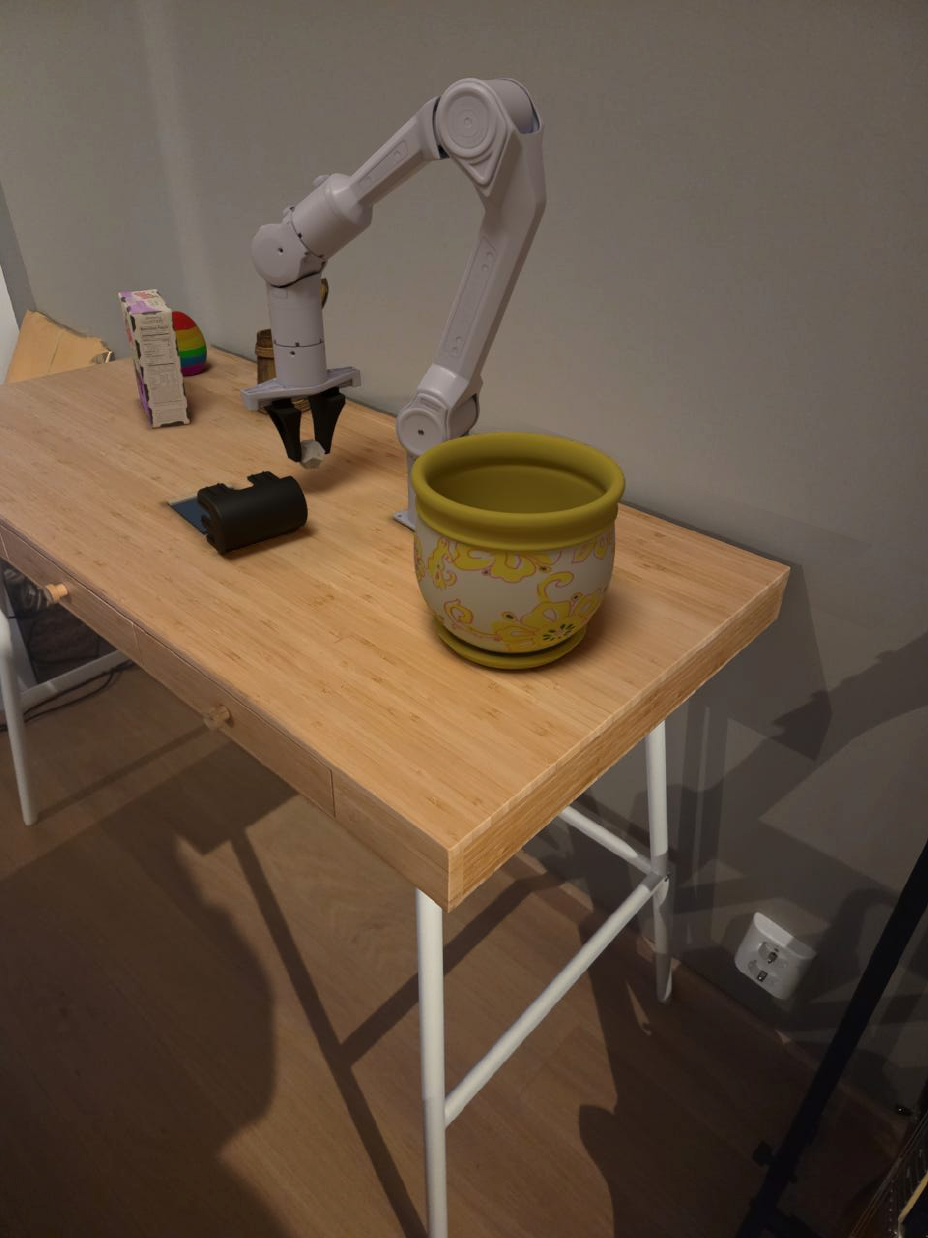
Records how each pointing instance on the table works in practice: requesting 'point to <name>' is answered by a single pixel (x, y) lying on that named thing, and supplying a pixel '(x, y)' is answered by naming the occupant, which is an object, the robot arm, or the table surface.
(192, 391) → the table surface
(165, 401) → the candy box
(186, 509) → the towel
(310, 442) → the game die
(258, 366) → the wooden mug
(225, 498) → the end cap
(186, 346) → the decorative egg
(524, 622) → the flowerpot
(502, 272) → the robot arm
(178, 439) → the table surface
